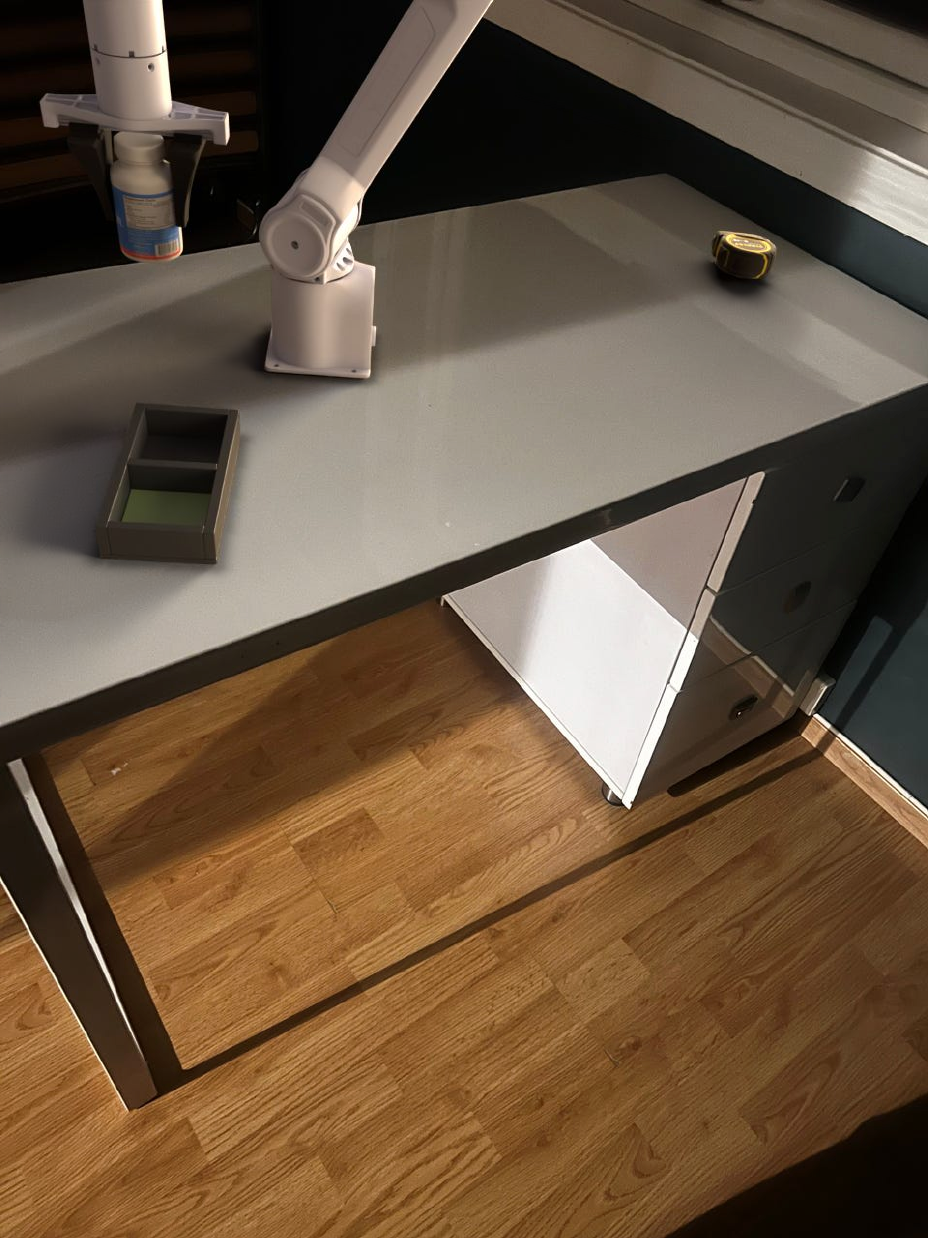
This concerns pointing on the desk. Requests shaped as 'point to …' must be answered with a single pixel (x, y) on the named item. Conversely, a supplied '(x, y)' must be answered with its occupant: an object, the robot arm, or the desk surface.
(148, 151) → the pill bottle
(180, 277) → the desk surface
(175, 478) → the divided tray
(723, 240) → the tape measure
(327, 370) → the robot arm
